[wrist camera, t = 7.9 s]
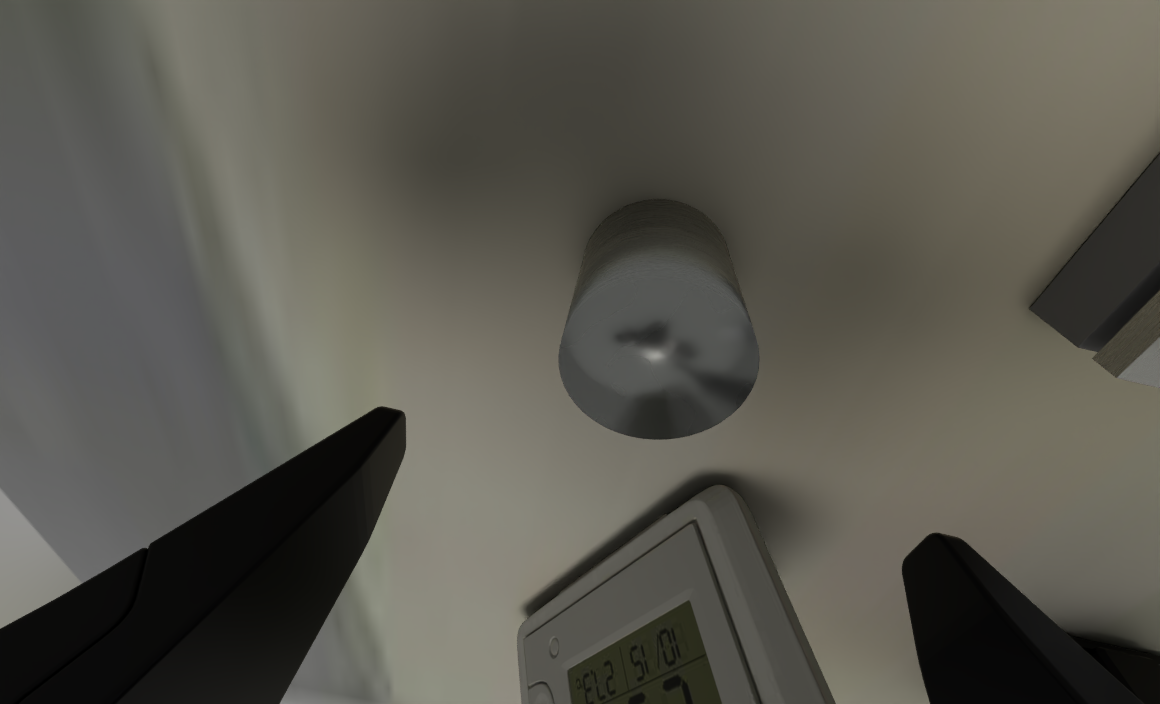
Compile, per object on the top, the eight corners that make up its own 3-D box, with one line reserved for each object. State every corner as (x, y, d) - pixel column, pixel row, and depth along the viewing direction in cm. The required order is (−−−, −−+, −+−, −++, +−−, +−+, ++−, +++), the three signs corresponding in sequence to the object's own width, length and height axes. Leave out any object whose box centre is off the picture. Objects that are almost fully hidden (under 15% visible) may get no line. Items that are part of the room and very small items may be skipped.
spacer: (700, 344, 16) (717, 455, 12) (571, 315, 16) (545, 417, 12) (752, 218, 14) (794, 305, 10) (599, 183, 14) (577, 256, 10)
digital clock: (733, 454, 19) (802, 825, 10) (853, 568, 22) (984, 930, 13) (476, 586, 27) (392, 864, 18) (592, 657, 30) (568, 925, 21)
